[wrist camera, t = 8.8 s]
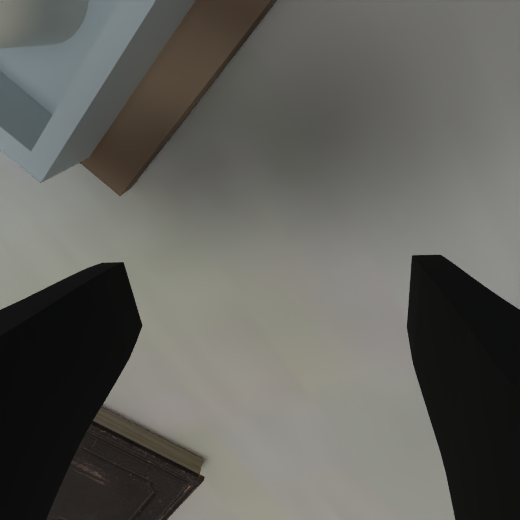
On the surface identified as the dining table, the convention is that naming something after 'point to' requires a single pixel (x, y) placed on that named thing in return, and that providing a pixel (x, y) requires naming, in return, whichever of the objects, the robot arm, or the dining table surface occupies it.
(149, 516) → the hardcover book
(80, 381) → the robot arm
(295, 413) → the dining table surface
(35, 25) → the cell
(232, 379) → the dining table surface
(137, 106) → the brown rectangular board
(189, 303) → the dining table surface
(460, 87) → the dining table surface
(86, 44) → the pale grey open tray
